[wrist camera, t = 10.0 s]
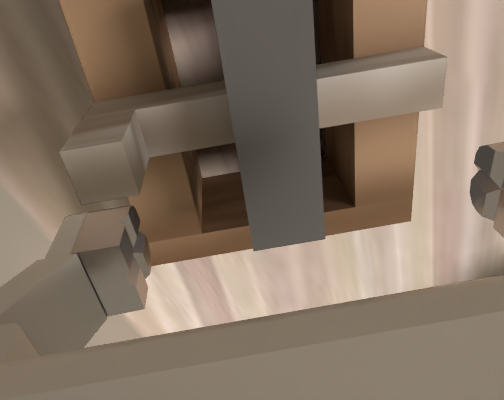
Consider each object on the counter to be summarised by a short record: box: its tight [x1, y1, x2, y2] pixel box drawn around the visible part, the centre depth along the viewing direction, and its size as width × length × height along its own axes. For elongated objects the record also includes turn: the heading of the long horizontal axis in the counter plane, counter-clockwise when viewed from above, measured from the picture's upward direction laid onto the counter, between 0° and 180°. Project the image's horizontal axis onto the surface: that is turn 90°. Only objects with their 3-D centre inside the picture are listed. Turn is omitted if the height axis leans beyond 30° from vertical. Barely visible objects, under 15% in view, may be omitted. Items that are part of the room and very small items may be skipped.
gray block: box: [211, 0, 325, 251], centre depth 18 cm, size 10×3×8 cm, turn 8°
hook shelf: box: [59, 0, 447, 266], centre depth 18 cm, size 16×14×11 cm
